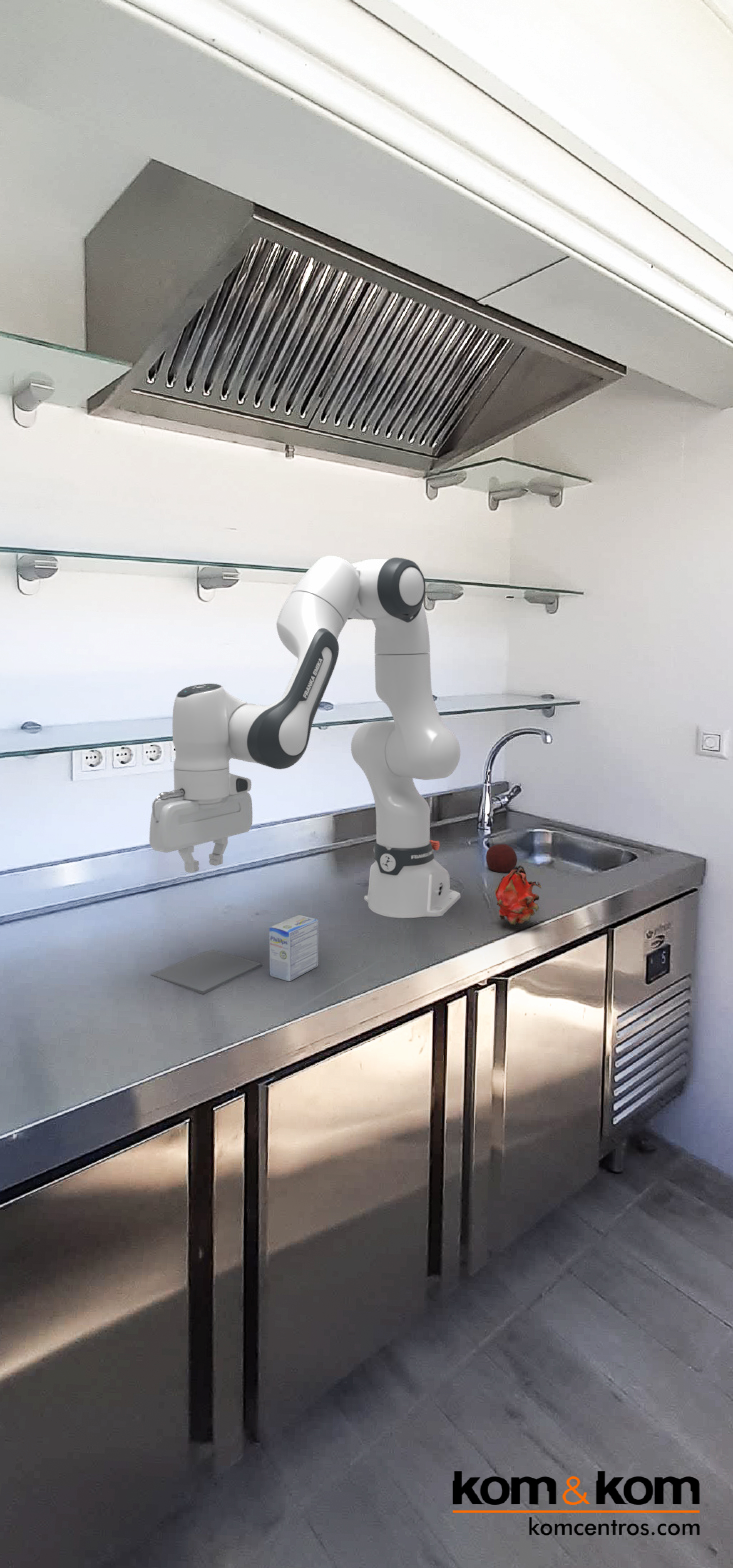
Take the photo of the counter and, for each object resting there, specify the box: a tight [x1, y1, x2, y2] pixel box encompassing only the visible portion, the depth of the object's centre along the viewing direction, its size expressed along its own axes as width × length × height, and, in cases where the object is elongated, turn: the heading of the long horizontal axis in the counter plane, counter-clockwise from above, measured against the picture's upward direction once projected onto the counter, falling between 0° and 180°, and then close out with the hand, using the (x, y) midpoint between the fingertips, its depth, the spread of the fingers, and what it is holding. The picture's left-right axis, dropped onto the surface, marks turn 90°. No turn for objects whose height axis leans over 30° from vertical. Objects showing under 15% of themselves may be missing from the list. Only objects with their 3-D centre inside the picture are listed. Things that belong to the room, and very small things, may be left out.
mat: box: [150, 949, 263, 995], centre depth 139 cm, size 14×12×1 cm
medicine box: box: [268, 914, 319, 982], centre depth 138 cm, size 8×4×9 cm, turn 146°
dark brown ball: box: [485, 843, 518, 873], centre depth 201 cm, size 7×8×7 cm
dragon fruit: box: [494, 865, 542, 926], centre depth 162 cm, size 8×8×12 cm
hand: (204, 868), depth 136 cm, fingers open, 4 cm apart
